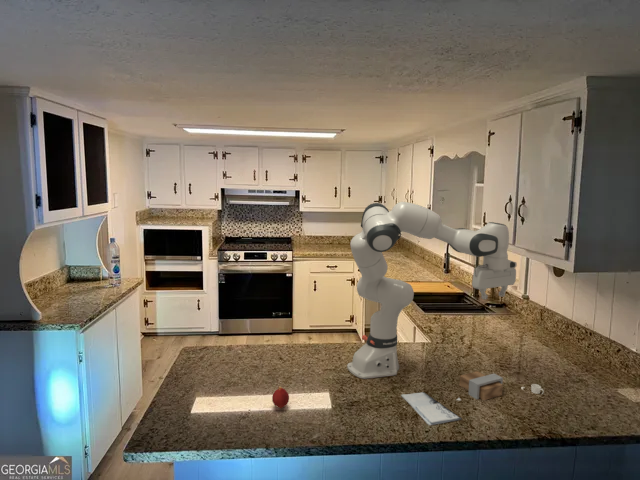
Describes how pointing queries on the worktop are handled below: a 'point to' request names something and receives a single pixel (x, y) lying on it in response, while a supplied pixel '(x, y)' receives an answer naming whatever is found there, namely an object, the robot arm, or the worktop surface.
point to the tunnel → (482, 383)
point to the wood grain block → (485, 390)
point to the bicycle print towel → (430, 408)
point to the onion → (280, 397)
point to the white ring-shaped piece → (535, 388)
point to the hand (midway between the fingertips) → (493, 297)
